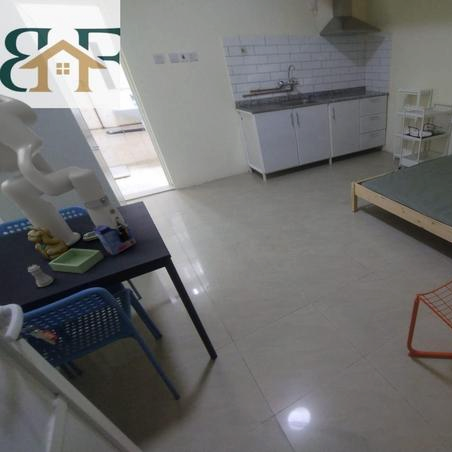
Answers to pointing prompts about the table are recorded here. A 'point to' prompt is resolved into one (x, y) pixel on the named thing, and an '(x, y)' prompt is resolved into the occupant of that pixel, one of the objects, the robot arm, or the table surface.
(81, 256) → the open rectangular box
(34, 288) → the table surface
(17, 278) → the table surface
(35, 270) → the rook chess piece
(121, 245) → the ink cartridge box
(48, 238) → the decorative figurine
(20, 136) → the robot arm
